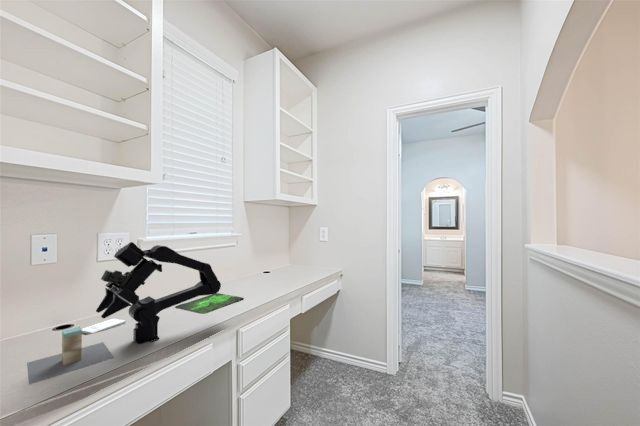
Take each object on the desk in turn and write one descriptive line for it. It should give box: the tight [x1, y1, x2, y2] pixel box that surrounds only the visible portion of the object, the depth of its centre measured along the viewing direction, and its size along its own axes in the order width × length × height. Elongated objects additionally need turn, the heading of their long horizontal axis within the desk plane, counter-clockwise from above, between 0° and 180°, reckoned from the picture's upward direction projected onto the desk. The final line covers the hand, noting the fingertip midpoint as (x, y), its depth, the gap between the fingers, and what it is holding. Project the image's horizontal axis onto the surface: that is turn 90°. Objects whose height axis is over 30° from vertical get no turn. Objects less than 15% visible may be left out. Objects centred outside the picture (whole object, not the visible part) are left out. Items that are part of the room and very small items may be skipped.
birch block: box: [61, 326, 83, 365], centre depth 83 cm, size 4×4×9 cm
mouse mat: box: [174, 292, 244, 315], centre depth 141 cm, size 27×22×1 cm
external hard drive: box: [81, 318, 127, 335], centre depth 109 cm, size 2×8×12 cm
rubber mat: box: [27, 342, 115, 385], centre depth 83 cm, size 18×16×1 cm
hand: (99, 314), depth 88 cm, fingers open, 8 cm apart
